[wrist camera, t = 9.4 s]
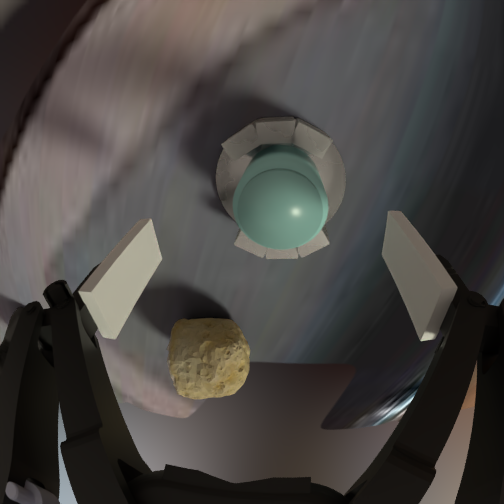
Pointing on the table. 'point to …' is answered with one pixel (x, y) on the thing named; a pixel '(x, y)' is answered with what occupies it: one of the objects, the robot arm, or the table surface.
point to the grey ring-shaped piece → (270, 134)
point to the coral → (207, 357)
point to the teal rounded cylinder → (280, 198)
